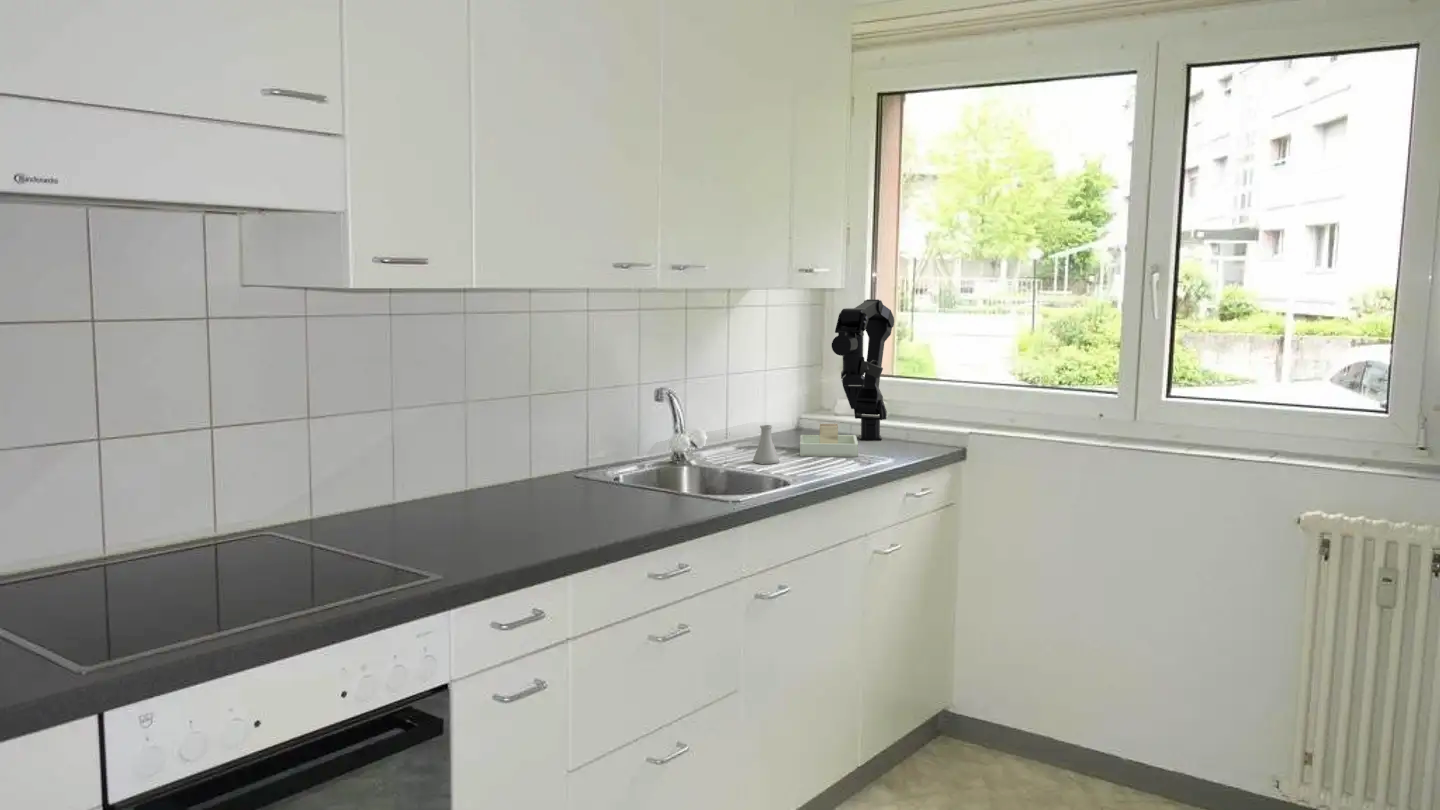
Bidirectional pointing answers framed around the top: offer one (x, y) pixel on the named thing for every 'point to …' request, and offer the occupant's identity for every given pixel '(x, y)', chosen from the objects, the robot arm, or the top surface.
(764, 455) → the flask
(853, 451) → the sage bin
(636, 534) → the top surface
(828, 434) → the birch block
